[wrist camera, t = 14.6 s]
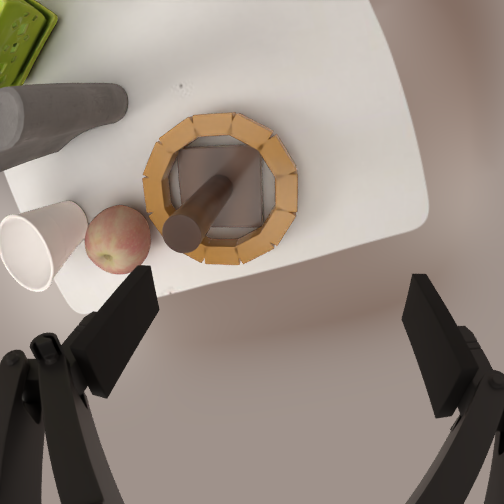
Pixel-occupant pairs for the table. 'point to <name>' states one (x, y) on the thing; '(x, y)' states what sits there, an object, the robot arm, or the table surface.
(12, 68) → the flower pot
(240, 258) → the hoop
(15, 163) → the flask
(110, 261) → the apple
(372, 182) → the table surface
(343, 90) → the table surface
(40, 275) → the cup
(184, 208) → the peg stand
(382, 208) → the table surface
